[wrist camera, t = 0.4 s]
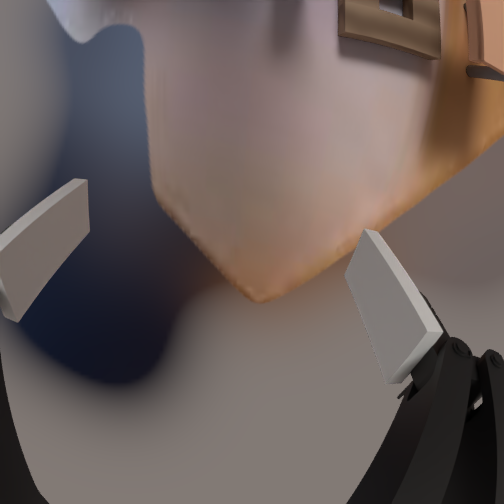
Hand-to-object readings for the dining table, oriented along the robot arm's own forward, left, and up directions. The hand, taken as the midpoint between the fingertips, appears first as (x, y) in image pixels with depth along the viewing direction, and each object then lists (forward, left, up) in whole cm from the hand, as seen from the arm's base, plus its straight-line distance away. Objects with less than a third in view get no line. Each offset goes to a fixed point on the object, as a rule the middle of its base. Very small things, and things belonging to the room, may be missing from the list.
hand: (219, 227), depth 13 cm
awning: (-22, +30, -26) cm, 46 cm away
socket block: (-22, +19, -26) cm, 39 cm away
